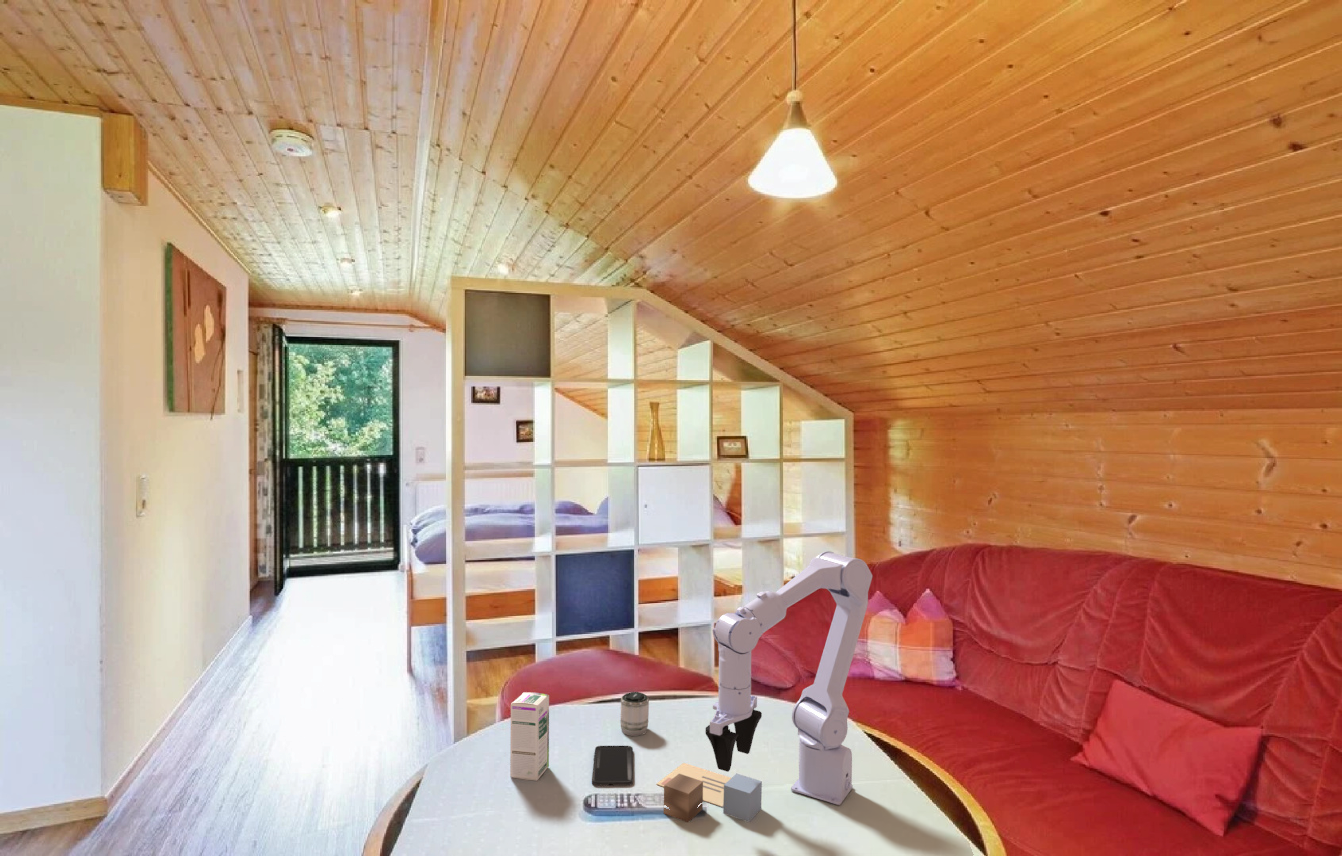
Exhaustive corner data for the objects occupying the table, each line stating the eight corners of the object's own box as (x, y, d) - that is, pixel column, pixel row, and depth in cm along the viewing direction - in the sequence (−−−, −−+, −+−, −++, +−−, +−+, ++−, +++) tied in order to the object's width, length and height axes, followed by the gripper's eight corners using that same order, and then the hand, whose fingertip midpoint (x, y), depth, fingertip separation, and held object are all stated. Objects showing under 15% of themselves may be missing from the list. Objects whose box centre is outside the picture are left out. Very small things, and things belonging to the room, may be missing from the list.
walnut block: (702, 809, 122) (703, 781, 122) (688, 822, 117) (688, 793, 117) (678, 801, 124) (679, 773, 124) (663, 813, 120) (664, 785, 120)
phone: (632, 745, 144) (632, 781, 129) (632, 750, 144) (632, 787, 129) (594, 745, 144) (590, 782, 129) (594, 751, 144) (590, 788, 129)
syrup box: (537, 781, 130) (539, 704, 130) (508, 777, 131) (510, 701, 131) (549, 767, 136) (550, 693, 136) (521, 763, 137) (522, 690, 137)
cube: (761, 809, 122) (761, 781, 122) (749, 822, 118) (749, 793, 118) (735, 800, 125) (736, 773, 125) (723, 813, 121) (723, 784, 121)
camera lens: (616, 734, 151) (616, 698, 151) (626, 722, 157) (626, 688, 157) (642, 738, 149) (643, 702, 149) (652, 726, 155) (652, 691, 155)
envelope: (746, 783, 131) (746, 782, 131) (722, 807, 122) (722, 806, 122) (683, 763, 138) (683, 762, 138) (656, 784, 130) (656, 783, 130)
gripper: (733, 667, 130) (732, 739, 130) (694, 691, 117) (693, 771, 117) (767, 674, 126) (766, 748, 126) (731, 700, 114) (730, 782, 114)
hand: (733, 760), depth 121 cm, fingers open, 7 cm apart
